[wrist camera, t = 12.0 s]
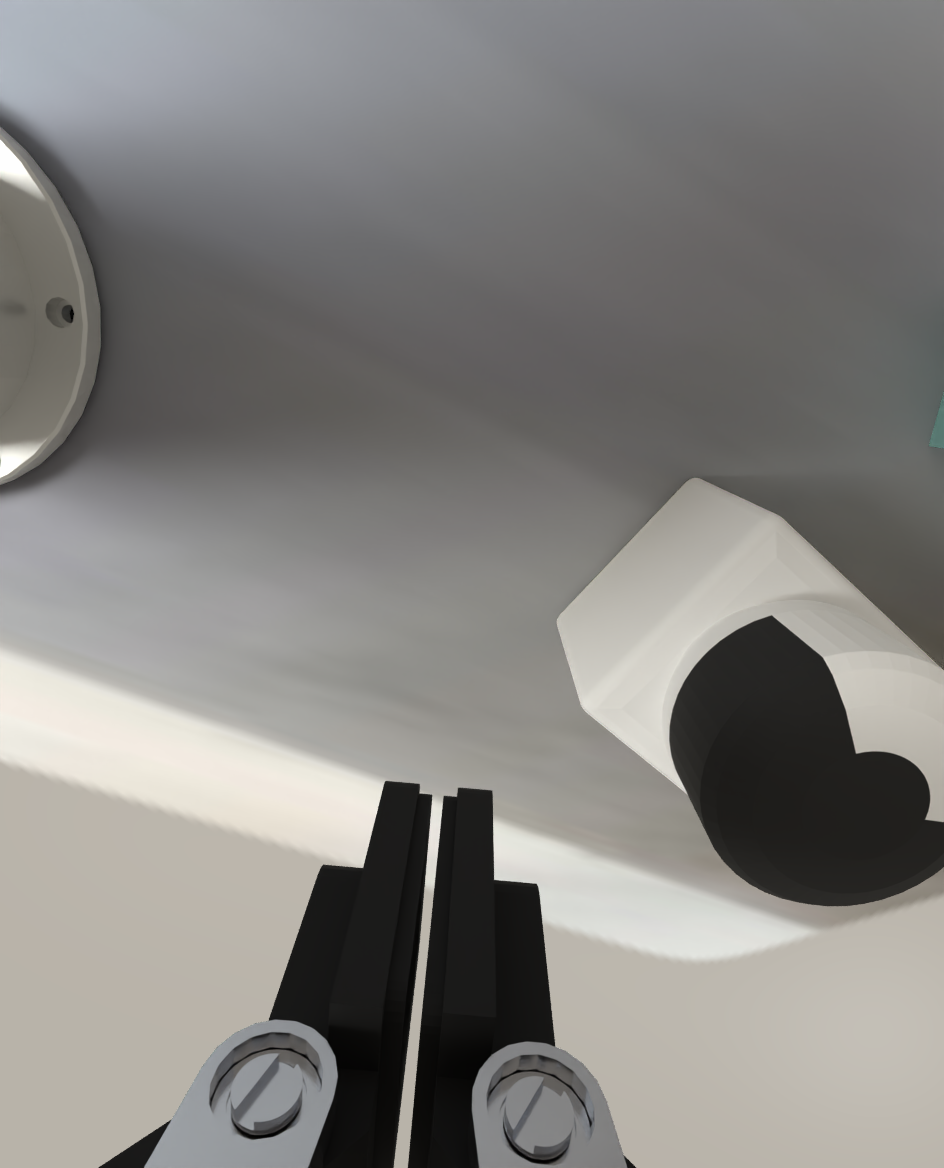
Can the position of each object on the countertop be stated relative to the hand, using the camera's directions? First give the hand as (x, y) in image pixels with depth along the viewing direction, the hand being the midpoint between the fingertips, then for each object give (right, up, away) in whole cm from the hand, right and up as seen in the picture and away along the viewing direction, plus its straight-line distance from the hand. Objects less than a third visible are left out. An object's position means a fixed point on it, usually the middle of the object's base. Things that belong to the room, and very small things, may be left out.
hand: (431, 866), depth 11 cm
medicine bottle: (+9, +3, +15) cm, 17 cm away
